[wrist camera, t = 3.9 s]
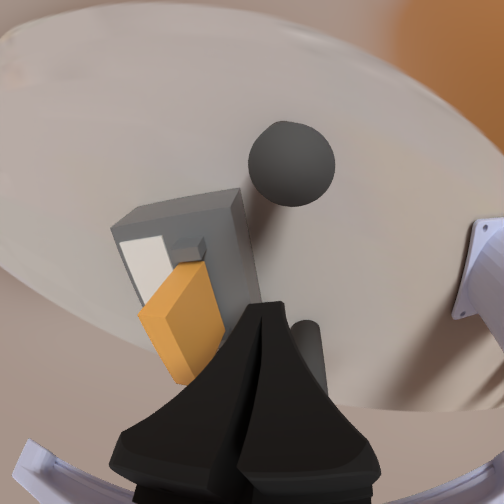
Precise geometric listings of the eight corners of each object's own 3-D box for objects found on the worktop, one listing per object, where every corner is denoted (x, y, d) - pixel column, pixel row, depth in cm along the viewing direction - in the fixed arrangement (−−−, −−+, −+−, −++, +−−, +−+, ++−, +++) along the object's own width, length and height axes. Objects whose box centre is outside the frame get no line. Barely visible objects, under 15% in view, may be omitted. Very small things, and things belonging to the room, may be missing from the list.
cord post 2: (319, 318, 17) (331, 412, 11) (319, 339, 18) (329, 428, 12) (289, 321, 17) (290, 416, 11) (291, 342, 18) (292, 432, 12)
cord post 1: (301, 118, 11) (329, 118, 5) (307, 159, 12) (338, 202, 6) (259, 124, 12) (241, 129, 6) (266, 163, 13) (256, 211, 7)
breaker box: (239, 187, 13) (225, 215, 10) (264, 312, 17) (259, 360, 13) (137, 207, 14) (99, 236, 11) (177, 317, 18) (158, 360, 14)
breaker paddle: (204, 261, 11) (164, 317, 8) (225, 330, 13) (200, 388, 10) (180, 262, 12) (137, 314, 9) (203, 328, 13) (176, 383, 10)
